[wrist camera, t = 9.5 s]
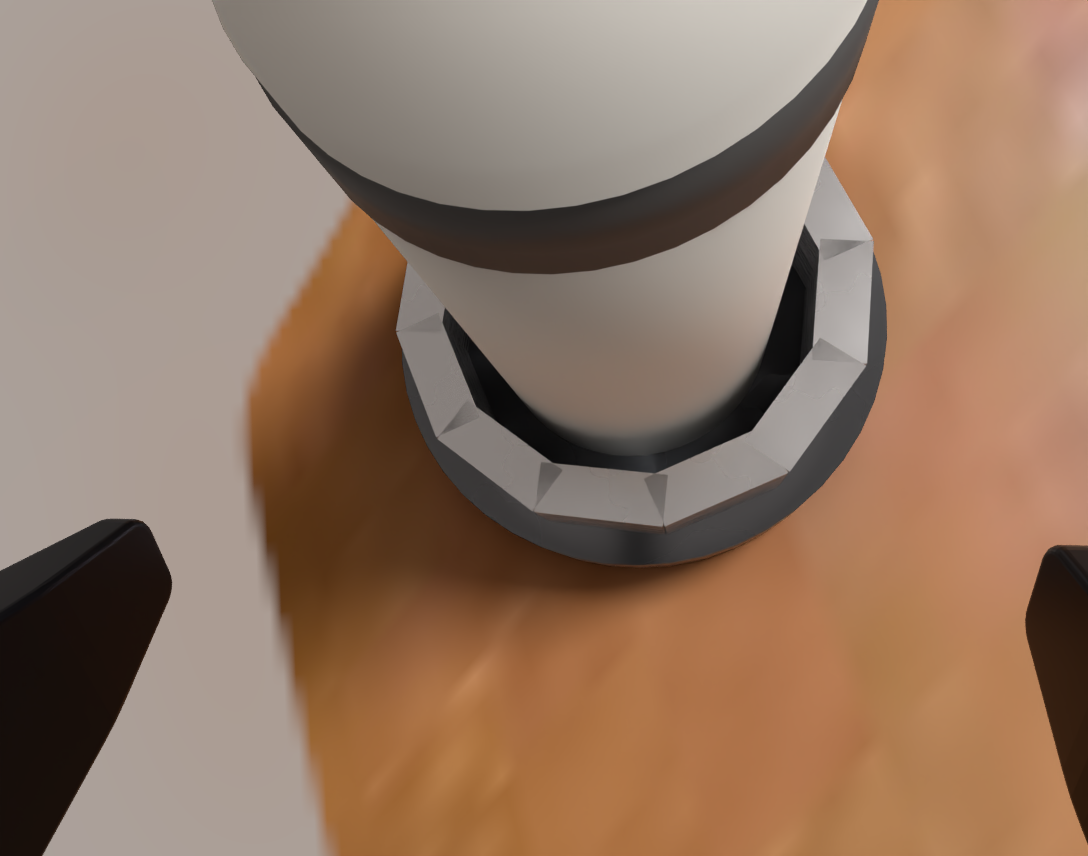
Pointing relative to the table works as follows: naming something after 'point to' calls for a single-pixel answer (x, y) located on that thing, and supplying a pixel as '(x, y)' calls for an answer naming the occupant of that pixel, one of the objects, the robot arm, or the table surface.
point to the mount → (690, 470)
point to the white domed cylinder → (578, 178)
